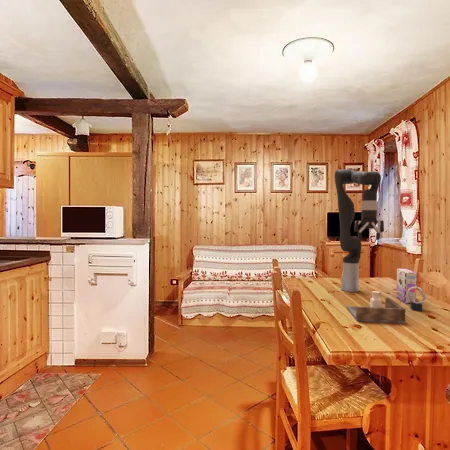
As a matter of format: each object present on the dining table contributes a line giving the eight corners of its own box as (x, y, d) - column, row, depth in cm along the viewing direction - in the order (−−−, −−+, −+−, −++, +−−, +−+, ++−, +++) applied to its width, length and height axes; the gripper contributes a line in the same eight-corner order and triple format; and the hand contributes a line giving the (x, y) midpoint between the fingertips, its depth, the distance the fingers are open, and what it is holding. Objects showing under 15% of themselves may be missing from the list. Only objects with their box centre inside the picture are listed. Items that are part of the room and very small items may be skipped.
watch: (426, 311, 153) (427, 288, 153) (407, 309, 156) (408, 287, 156) (424, 308, 158) (425, 286, 158) (406, 306, 161) (406, 285, 161)
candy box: (416, 304, 166) (417, 272, 165) (404, 303, 167) (405, 272, 167) (407, 297, 179) (407, 268, 179) (395, 296, 181) (396, 268, 180)
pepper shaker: (369, 310, 150) (370, 290, 150) (378, 311, 150) (378, 291, 149) (372, 313, 146) (372, 292, 146) (381, 313, 146) (382, 293, 145)
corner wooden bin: (356, 321, 139) (357, 307, 139) (346, 308, 159) (346, 296, 158) (405, 323, 136) (405, 309, 136) (388, 309, 156) (388, 297, 155)
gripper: (381, 209, 171) (380, 239, 172) (353, 209, 174) (352, 239, 174) (386, 209, 164) (385, 240, 165) (357, 209, 166) (356, 240, 167)
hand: (368, 240), depth 169 cm, fingers open, 8 cm apart
